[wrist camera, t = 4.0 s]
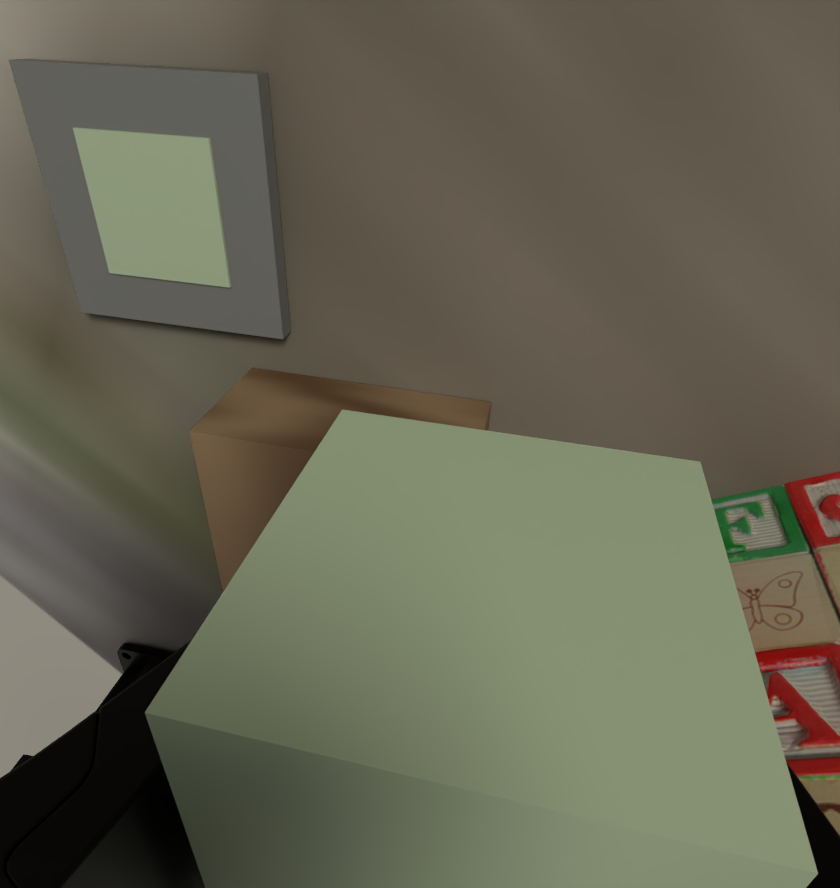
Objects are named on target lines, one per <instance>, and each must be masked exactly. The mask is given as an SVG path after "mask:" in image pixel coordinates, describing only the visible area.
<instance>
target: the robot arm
mask: <svg viewBox="0 0 840 888" xmlns="http://www.w3.org/2000/svg"><path fill="white" fill-rule="evenodd" d="M191 641H192V640H191ZM191 641H189V642H188V643H187V644H185V645H184V646H183V647H181V648H180V649H179V650H177V651H176V652H175V653H169V652H165V651H160V650H156V649H152V648H147V647H143V646H139V645H134V644H130V643H124V644H123V645H122V646H121V647H120V649H119V650H118V651H117V653H118V656H119V659H120V662H121V664H122V667H123V670H124V673H123V674H122V676H121V677H120V679H119V680H118V682H117V683H116V684H115V685H114V687H113V688H112V689H111V691H110V692H109V694H108V695H107V696H106V698H105V699H104V700H103V702H102V703H101V705H100V706H99V707H98V709H97V710H96V711H95V712H94V713H92V714H91V715H90V716H88V717H87V718H86V719H84V720H83V721H81V722H80V723H79V724H77V725H76V726H75V727H73V728H72V729H71V730H69V731H68V732H67V733H65V734H64V735H62V736H61V737H60V738H58V739H57V740H55V741H54V742H53V743H51V744H50V745H48V746H47V747H46V748H44V749H43V750H41V751H40V752H39V753H37V754H36V755H35V756H30V755H23V756H22V757H21V758H20V760H19V761H18V762H17V764H16V765H15V766H14V767H13V769H12V770H11V771H10V772H9V773H7V774H6V775H4V776H3V777H1V778H0V888H205V886H204V883H203V880H202V877H201V874H200V871H199V868H198V865H197V862H196V860H195V857H194V854H193V851H192V848H191V845H190V842H189V839H188V836H187V834H186V831H185V828H184V825H183V822H182V819H181V816H180V813H179V810H178V808H177V805H176V802H175V799H174V796H173V793H172V790H171V787H170V784H169V781H168V779H167V776H166V773H165V770H164V767H163V764H162V761H161V758H160V755H159V753H158V750H157V747H156V744H155V741H154V738H153V735H152V732H151V729H150V727H149V724H148V721H147V718H146V715H145V711H146V710H147V708H148V707H149V705H150V704H151V702H152V701H153V699H154V698H155V696H156V694H157V693H158V691H159V690H160V688H161V687H162V685H163V684H164V682H165V681H166V679H167V678H168V676H169V675H170V673H171V671H172V670H173V668H174V667H175V665H176V664H177V662H178V661H179V659H180V658H181V656H182V655H183V653H184V652H185V650H186V648H187V647H188V645H189V644H190V642H191ZM786 763H787V761H786ZM787 766H788V770H789V773H790V777H791V780H792V784H793V787H794V791H795V794H796V798H797V801H798V805H799V808H800V812H801V815H802V819H803V822H804V826H805V829H806V833H807V836H808V840H809V843H810V847H811V850H812V854H813V857H814V861H815V864H816V868H817V871H818V874H817V876H816V877H815V878H814V879H813V880H812V881H811V883H810V884H809V885H808V886H807V887H806V888H840V835H839V834H838V832H837V831H836V830H835V828H834V827H833V825H832V824H831V823H830V821H829V820H828V818H827V817H826V816H825V814H824V813H823V812H822V810H821V809H820V807H819V806H818V805H817V803H816V802H815V800H814V799H813V798H812V796H811V795H810V793H809V792H808V791H807V789H806V788H805V786H804V785H803V784H802V782H801V781H800V779H799V778H798V777H797V775H796V774H795V772H794V771H793V770H792V768H791V767H790V765H789V764H788V763H787Z"/></svg>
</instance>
